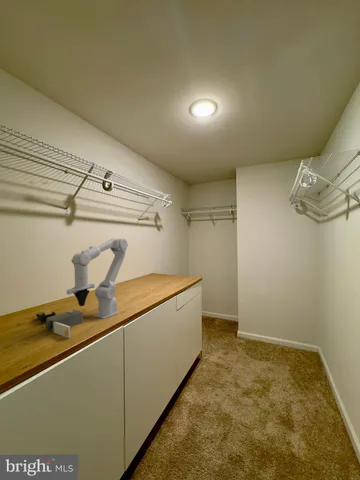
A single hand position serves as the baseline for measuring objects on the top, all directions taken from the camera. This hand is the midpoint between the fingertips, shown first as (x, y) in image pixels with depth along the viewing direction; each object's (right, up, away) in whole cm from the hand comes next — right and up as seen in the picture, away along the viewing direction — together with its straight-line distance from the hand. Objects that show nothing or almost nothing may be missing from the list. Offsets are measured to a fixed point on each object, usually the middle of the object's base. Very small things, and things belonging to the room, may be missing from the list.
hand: (81, 305), depth 98 cm
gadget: (-23, -10, +7) cm, 26 cm away
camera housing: (-8, -10, 0) cm, 13 cm away
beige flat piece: (-4, -9, -11) cm, 15 cm away
